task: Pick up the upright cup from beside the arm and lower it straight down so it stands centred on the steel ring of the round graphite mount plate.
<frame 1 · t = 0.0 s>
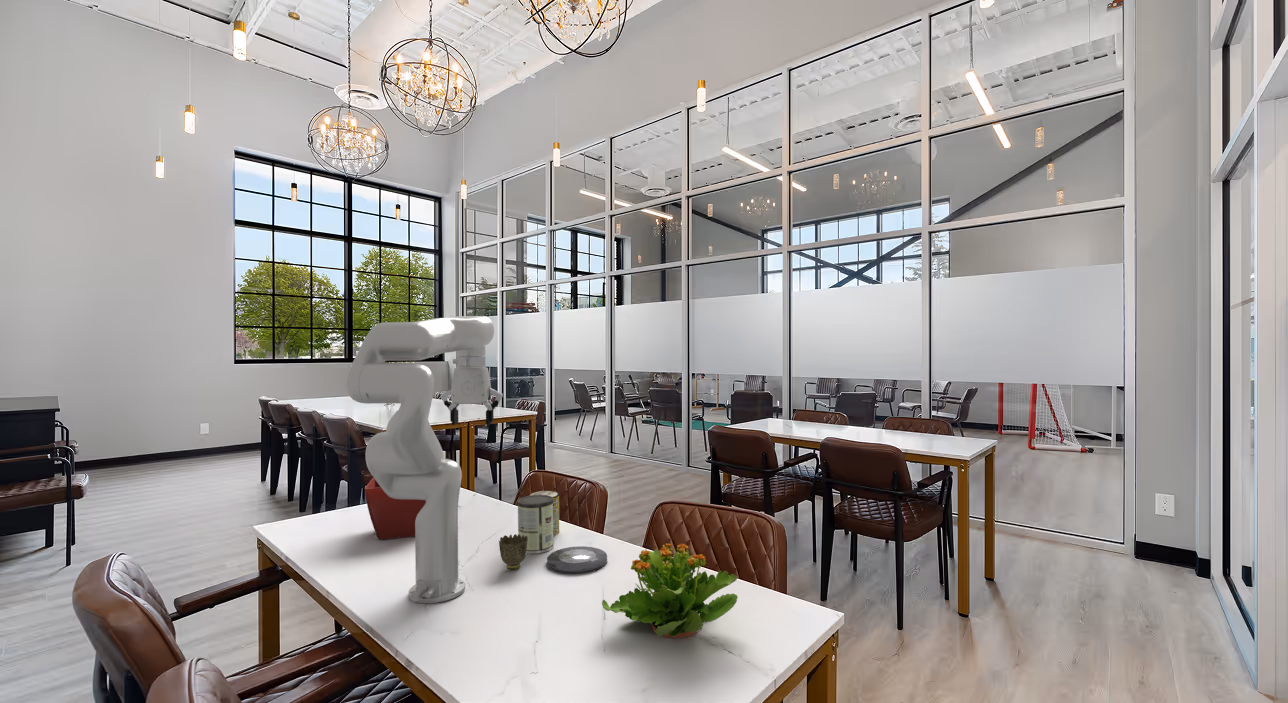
hand: (472, 424, 157), 37 cm above the table, tool pointing down, fingers open, 9 cm apart
plant pot: (402, 532, 179), on the table
mount plate: (577, 562, 152), on the table
potted flower: (679, 628, 115), on the table
coffee can: (535, 548, 163), on the table
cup: (513, 569, 148), on the table
beverage can: (544, 533, 177), on the table
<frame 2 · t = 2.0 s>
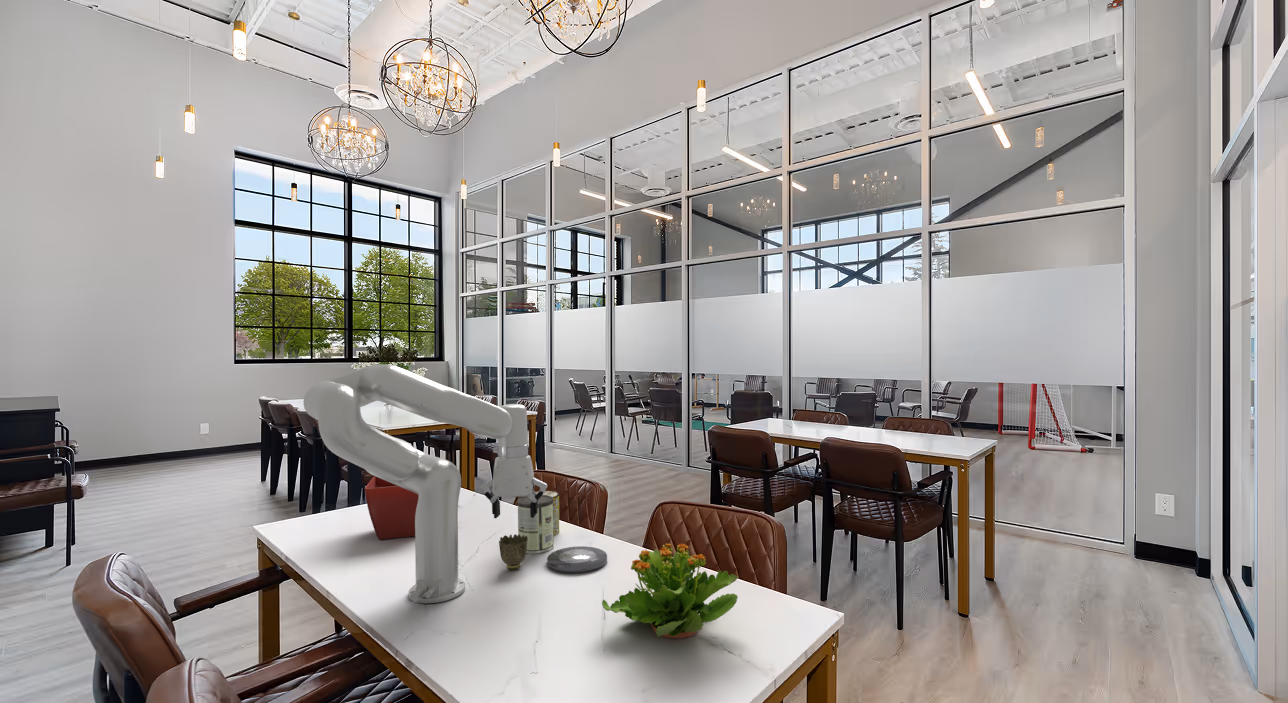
hand: (515, 516, 148), 14 cm above the table, tool pointing down, fingers open, 9 cm apart
nothing on the table moved.
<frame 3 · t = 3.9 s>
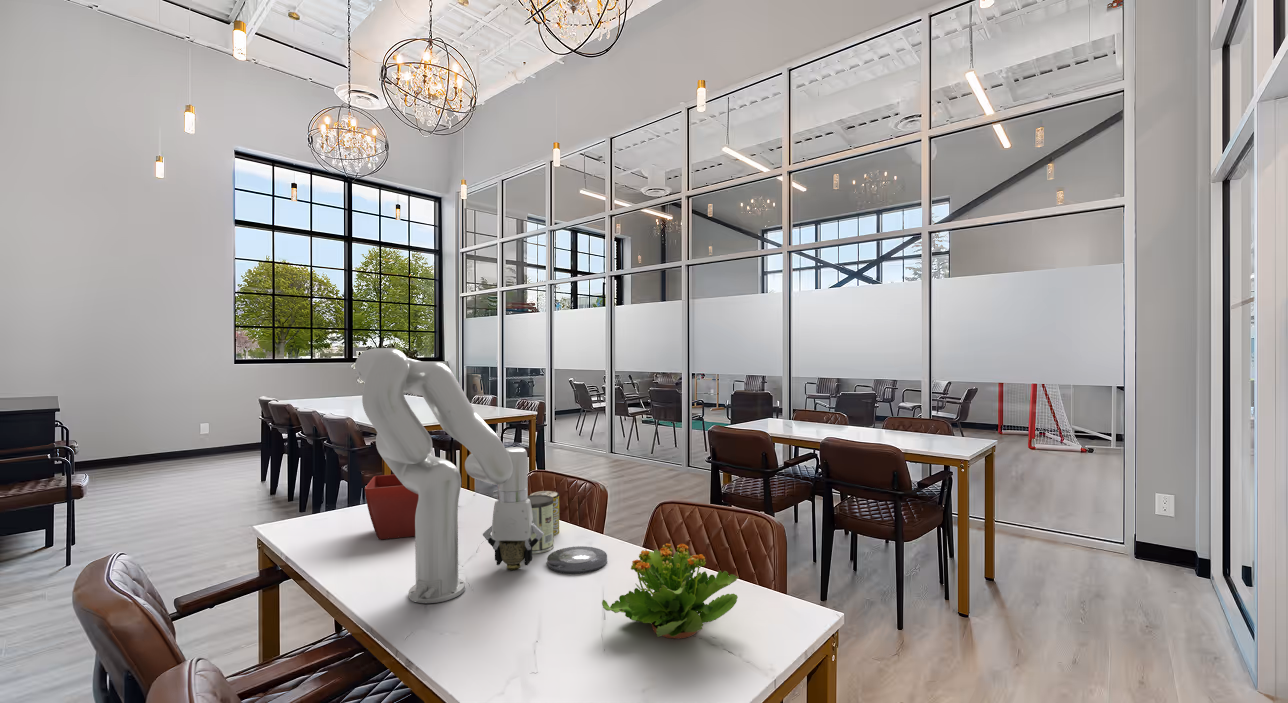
hand: (513, 562, 148), 2 cm above the table, tool pointing down, fingers closed on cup, 6 cm apart
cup: (513, 569, 148), on the table, touching gripper
everything else where it was.
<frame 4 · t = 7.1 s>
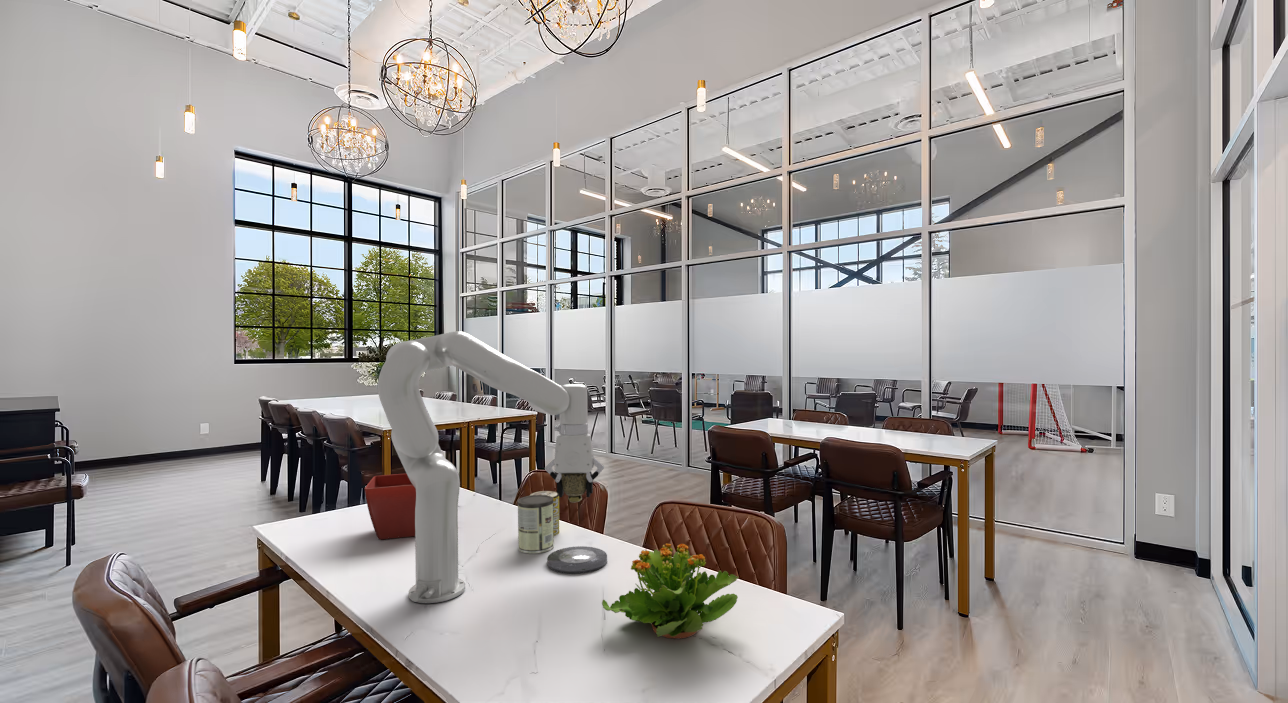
hand: (575, 495, 152), 18 cm above the table, tool pointing down, fingers closed on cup, 6 cm apart
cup: (575, 501, 152), point 16 cm above the table, touching gripper
everything else where it was.
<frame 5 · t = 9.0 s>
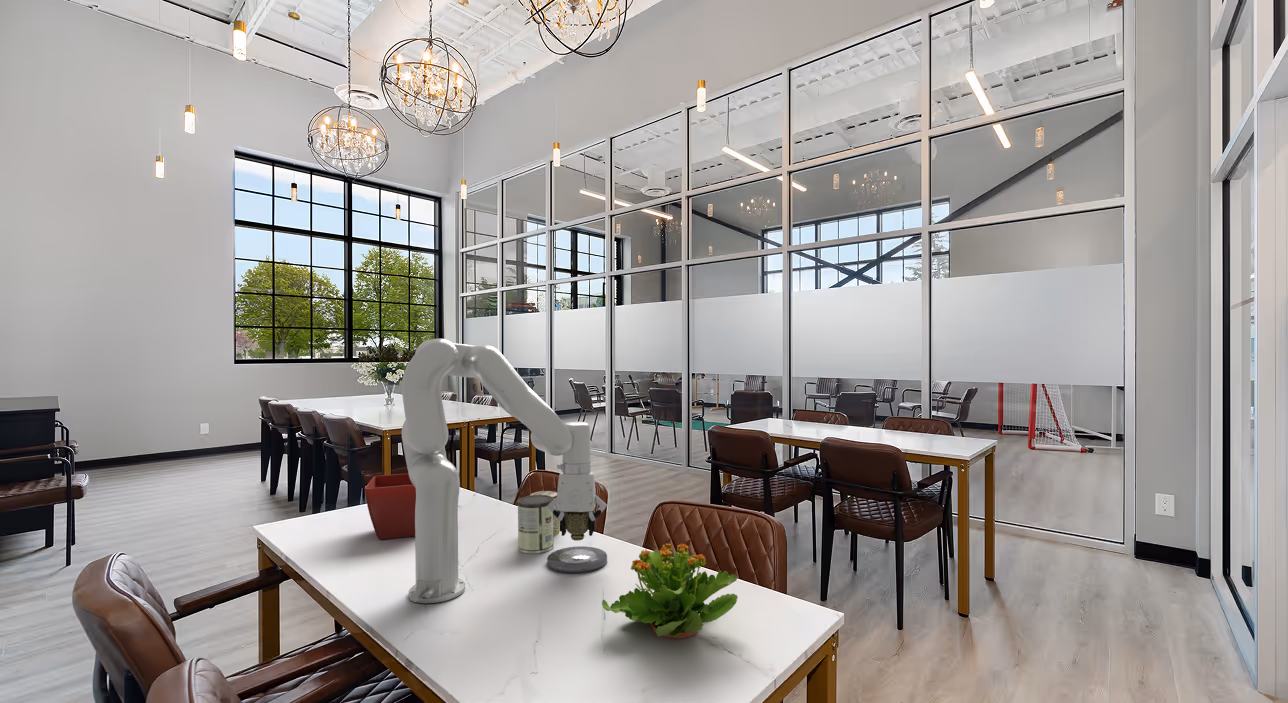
hand: (577, 533, 152), 8 cm above the table, tool pointing down, fingers closed on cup, 6 cm apart
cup: (577, 539, 152), point 6 cm above the table, touching gripper
everything else where it was.
when the fingers open (5 cm above the table, at t = 10.6 s): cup drops 1 cm, resting on mount plate.
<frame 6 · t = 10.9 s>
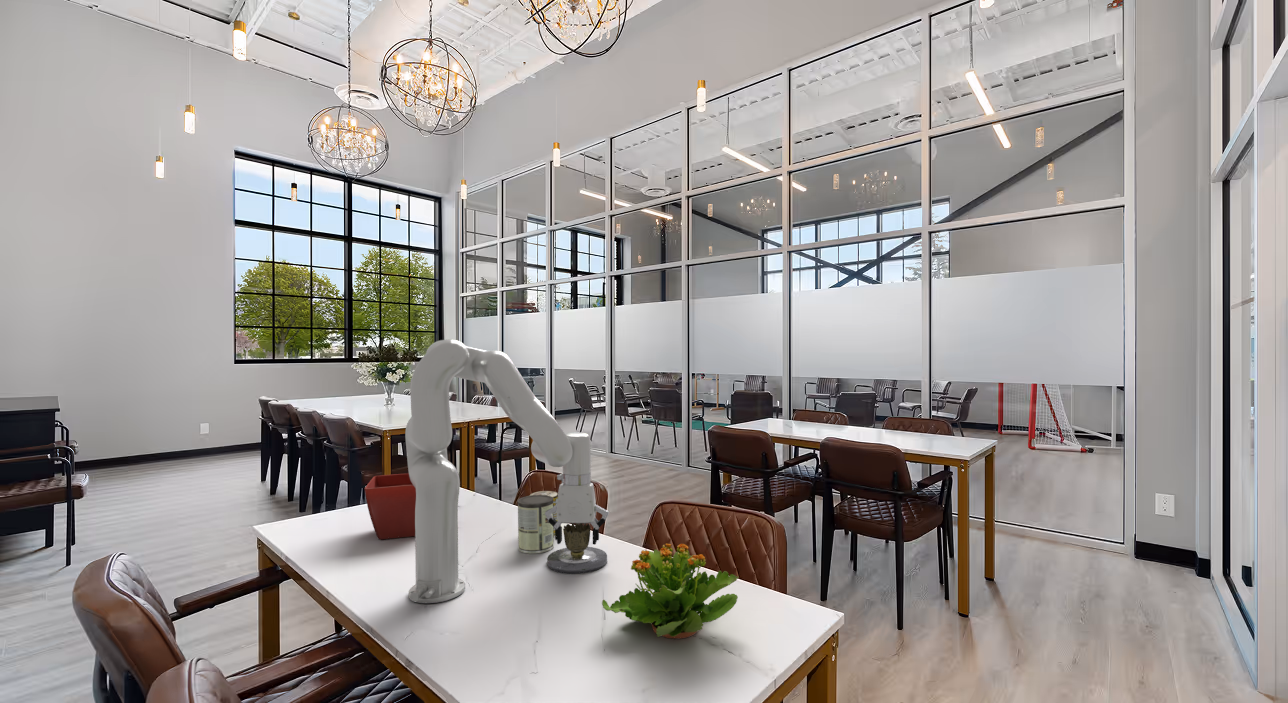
hand: (577, 542, 152), 5 cm above the table, tool pointing down, fingers open, 9 cm apart
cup: (577, 556, 152), point 2 cm above the table, touching mount plate
everything else where it was.
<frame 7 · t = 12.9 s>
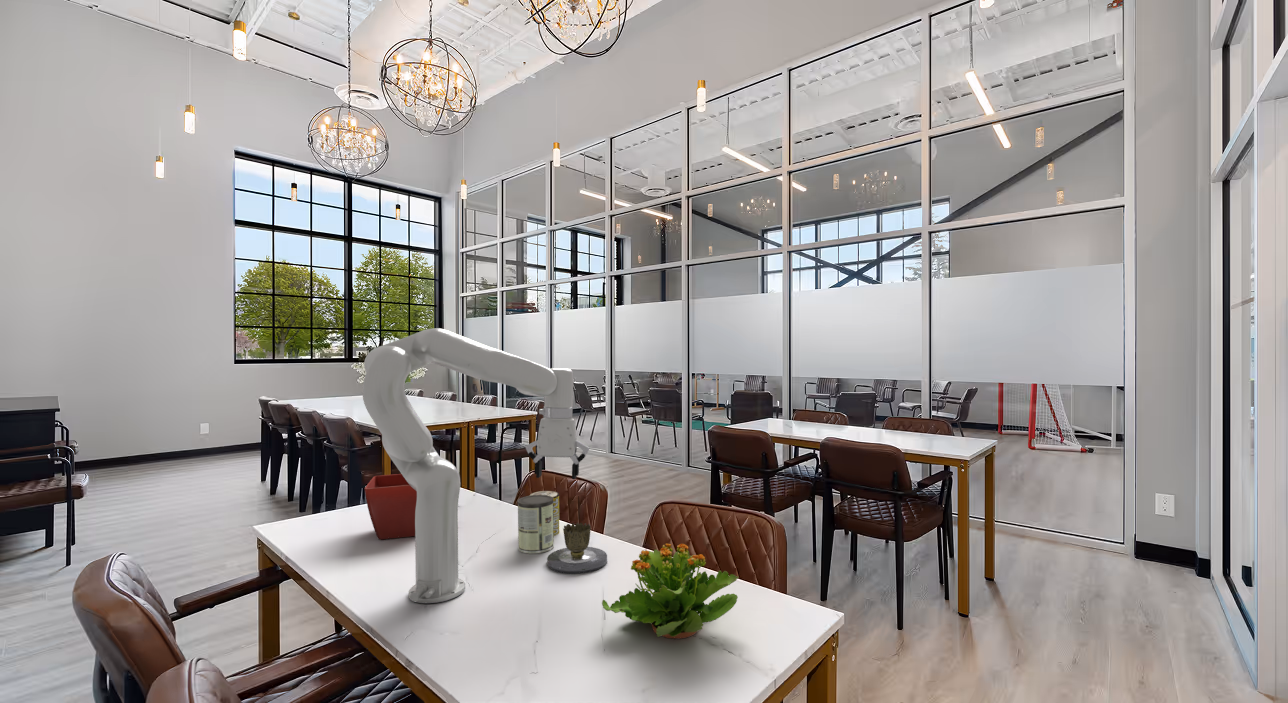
hand: (556, 477, 152), 23 cm above the table, tool pointing down, fingers open, 9 cm apart
nothing on the table moved.
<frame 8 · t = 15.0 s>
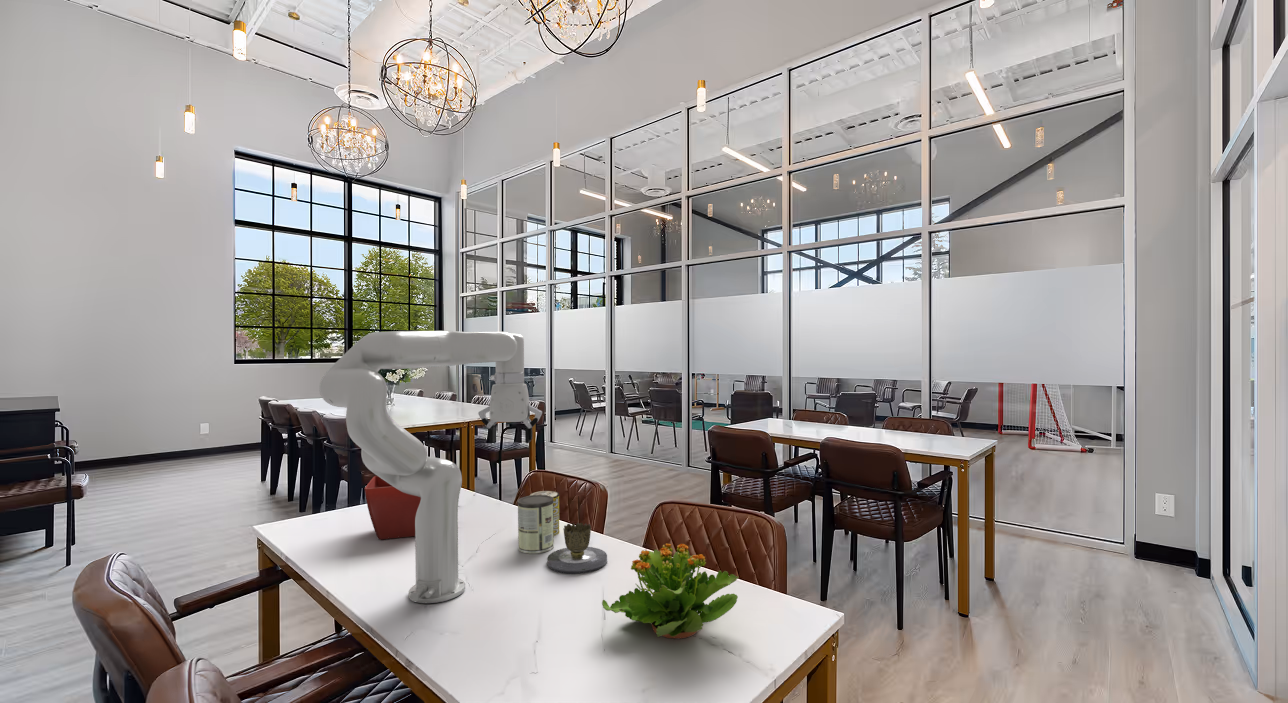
hand: (510, 442, 153), 32 cm above the table, tool pointing down, fingers open, 9 cm apart
nothing on the table moved.
at the end: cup 0.2 cm from the mount plate (horizontally); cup tilted 0°; the gripper is holding nothing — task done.
